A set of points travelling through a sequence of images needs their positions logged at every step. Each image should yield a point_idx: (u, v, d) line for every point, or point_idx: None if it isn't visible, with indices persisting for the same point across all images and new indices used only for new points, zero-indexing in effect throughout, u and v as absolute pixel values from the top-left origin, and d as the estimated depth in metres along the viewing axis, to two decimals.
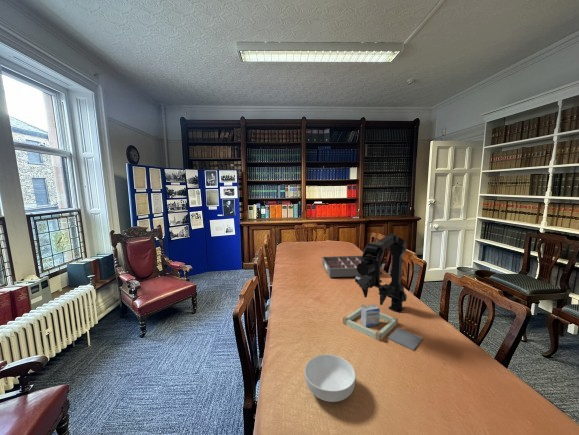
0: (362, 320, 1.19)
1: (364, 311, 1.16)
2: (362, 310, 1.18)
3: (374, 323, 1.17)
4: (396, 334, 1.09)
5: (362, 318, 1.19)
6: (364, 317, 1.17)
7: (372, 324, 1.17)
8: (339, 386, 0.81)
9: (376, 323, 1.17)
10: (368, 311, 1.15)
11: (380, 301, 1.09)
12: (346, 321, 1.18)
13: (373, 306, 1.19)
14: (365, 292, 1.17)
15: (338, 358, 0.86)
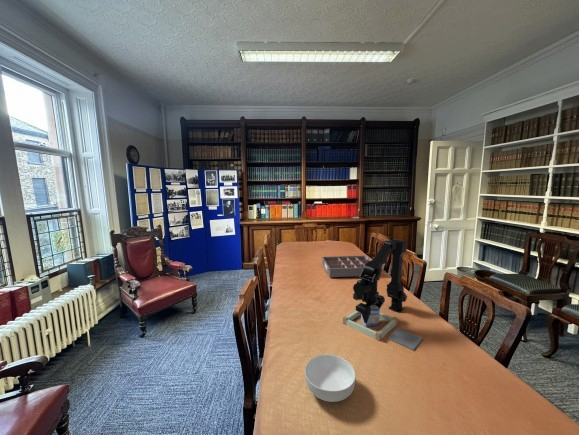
0: (362, 320, 1.19)
1: None
2: None
3: (374, 323, 1.17)
4: (396, 334, 1.09)
5: (362, 318, 1.19)
6: None
7: (372, 324, 1.17)
8: (339, 386, 0.81)
9: (376, 323, 1.17)
10: None
11: None
12: (346, 321, 1.18)
13: (373, 306, 1.19)
14: None
15: (338, 358, 0.86)
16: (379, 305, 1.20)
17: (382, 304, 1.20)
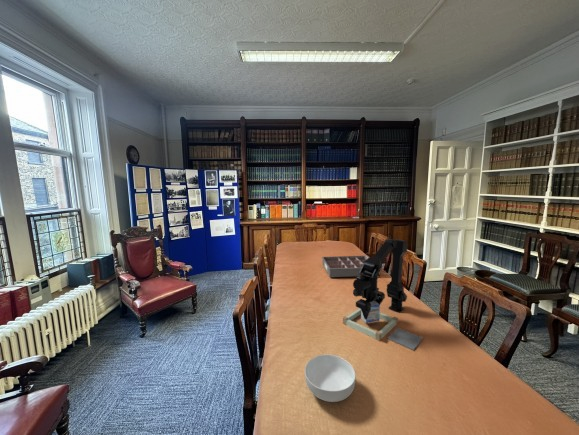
0: (362, 316, 1.18)
1: None
2: None
3: (374, 319, 1.17)
4: (396, 334, 1.09)
5: (362, 314, 1.19)
6: None
7: (372, 320, 1.17)
8: (339, 386, 0.81)
9: (376, 319, 1.17)
10: None
11: None
12: (346, 321, 1.18)
13: (373, 302, 1.19)
14: None
15: (338, 358, 0.86)
16: (379, 301, 1.20)
17: (382, 300, 1.20)
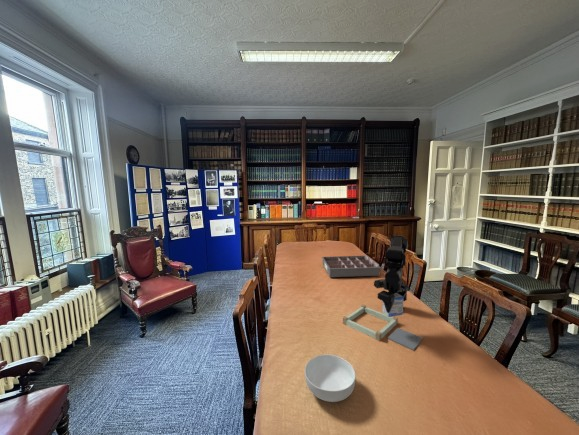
0: (384, 309, 1.09)
1: None
2: None
3: (397, 313, 1.08)
4: (396, 334, 1.09)
5: (383, 307, 1.10)
6: None
7: (395, 314, 1.07)
8: (339, 386, 0.81)
9: (399, 313, 1.08)
10: None
11: (385, 307, 1.07)
12: (346, 321, 1.18)
13: (396, 294, 1.10)
14: None
15: (338, 358, 0.86)
16: (402, 294, 1.10)
17: (406, 293, 1.11)
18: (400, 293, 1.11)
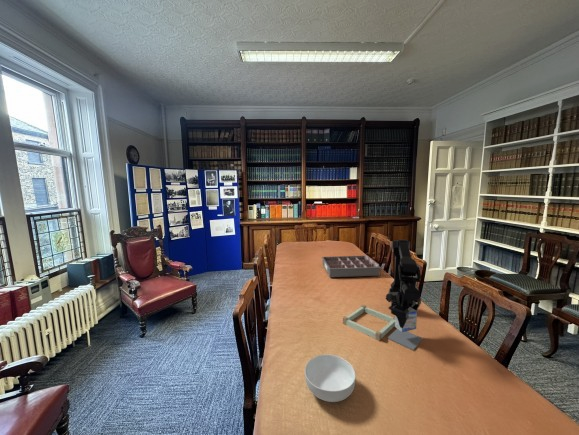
0: (396, 324, 1.06)
1: None
2: None
3: (411, 327, 1.04)
4: (396, 334, 1.09)
5: (396, 322, 1.06)
6: None
7: (408, 329, 1.04)
8: (339, 386, 0.81)
9: (413, 327, 1.05)
10: None
11: (399, 322, 1.03)
12: (346, 321, 1.18)
13: (409, 308, 1.06)
14: None
15: (338, 358, 0.86)
16: (415, 307, 1.07)
17: (418, 306, 1.07)
18: (413, 307, 1.08)
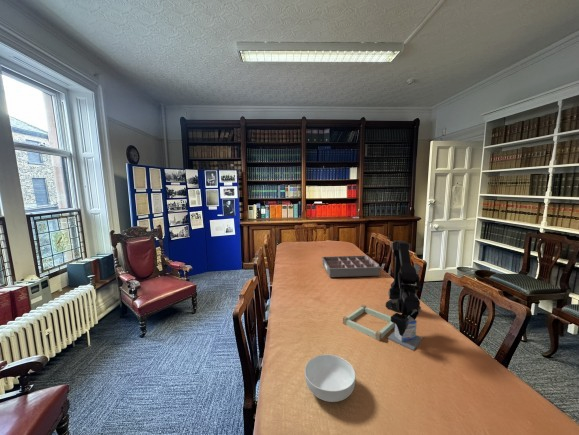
0: (396, 333, 1.06)
1: None
2: None
3: (410, 337, 1.05)
4: None
5: (396, 331, 1.07)
6: None
7: (408, 338, 1.05)
8: (339, 386, 0.81)
9: (412, 337, 1.05)
10: None
11: None
12: (346, 321, 1.18)
13: (408, 318, 1.07)
14: None
15: (338, 358, 0.86)
16: (415, 315, 1.07)
17: (418, 314, 1.08)
18: (412, 314, 1.08)
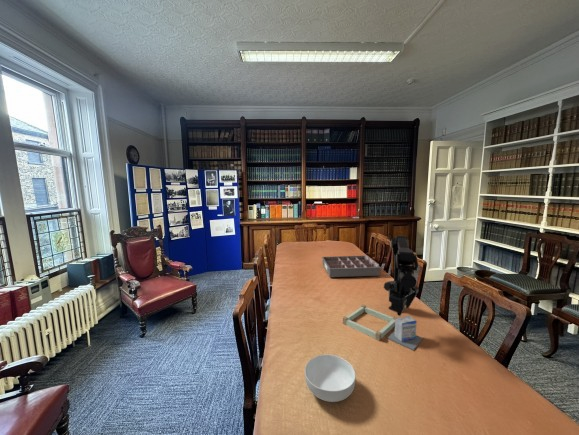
0: (396, 333, 1.06)
1: (399, 324, 1.04)
2: (396, 322, 1.06)
3: (410, 337, 1.05)
4: None
5: (396, 331, 1.07)
6: (399, 330, 1.04)
7: (408, 338, 1.05)
8: (339, 386, 0.81)
9: (412, 337, 1.05)
10: (404, 324, 1.03)
11: None
12: (346, 321, 1.18)
13: (408, 318, 1.07)
14: (406, 302, 1.11)
15: (338, 358, 0.86)
16: (413, 296, 1.09)
17: None
18: (410, 295, 1.10)
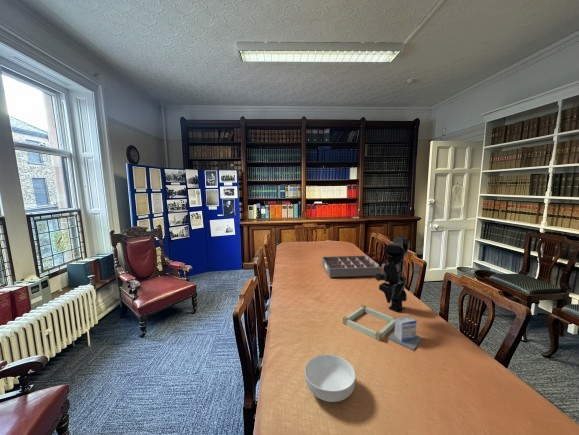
0: (396, 333, 1.06)
1: (399, 324, 1.04)
2: (396, 322, 1.06)
3: (410, 337, 1.05)
4: None
5: (396, 331, 1.07)
6: (399, 330, 1.04)
7: (408, 338, 1.05)
8: (339, 386, 0.81)
9: (412, 337, 1.05)
10: (404, 324, 1.03)
11: None
12: (346, 321, 1.18)
13: (408, 318, 1.07)
14: (396, 291, 1.22)
15: (338, 358, 0.86)
16: (401, 285, 1.20)
17: (404, 285, 1.20)
18: (399, 285, 1.20)
